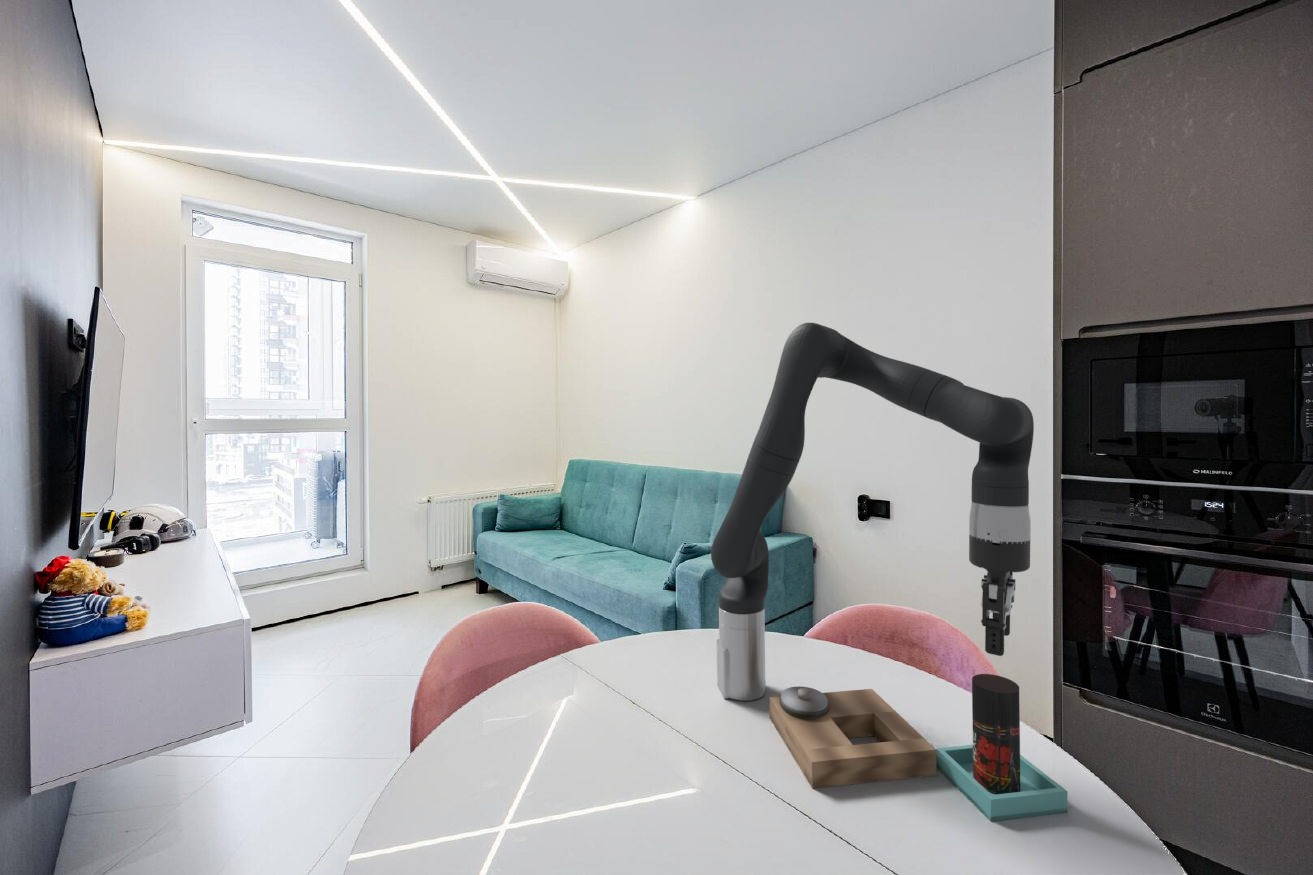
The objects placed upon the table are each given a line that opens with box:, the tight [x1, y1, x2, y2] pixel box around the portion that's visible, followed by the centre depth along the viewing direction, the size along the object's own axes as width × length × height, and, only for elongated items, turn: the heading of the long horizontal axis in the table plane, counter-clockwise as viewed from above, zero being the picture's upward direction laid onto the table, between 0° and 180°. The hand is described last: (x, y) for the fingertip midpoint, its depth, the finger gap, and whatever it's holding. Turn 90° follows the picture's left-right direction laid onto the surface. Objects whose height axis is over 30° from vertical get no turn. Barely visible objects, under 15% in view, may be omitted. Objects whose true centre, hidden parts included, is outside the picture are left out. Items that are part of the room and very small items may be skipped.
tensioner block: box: [769, 686, 937, 789], centre depth 91 cm, size 20×19×7 cm
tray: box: [935, 744, 1068, 822], centre depth 79 cm, size 12×12×3 cm
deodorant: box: [971, 673, 1021, 795], centre depth 79 cm, size 6×6×15 cm
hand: (998, 643), depth 79 cm, fingers open, 8 cm apart
